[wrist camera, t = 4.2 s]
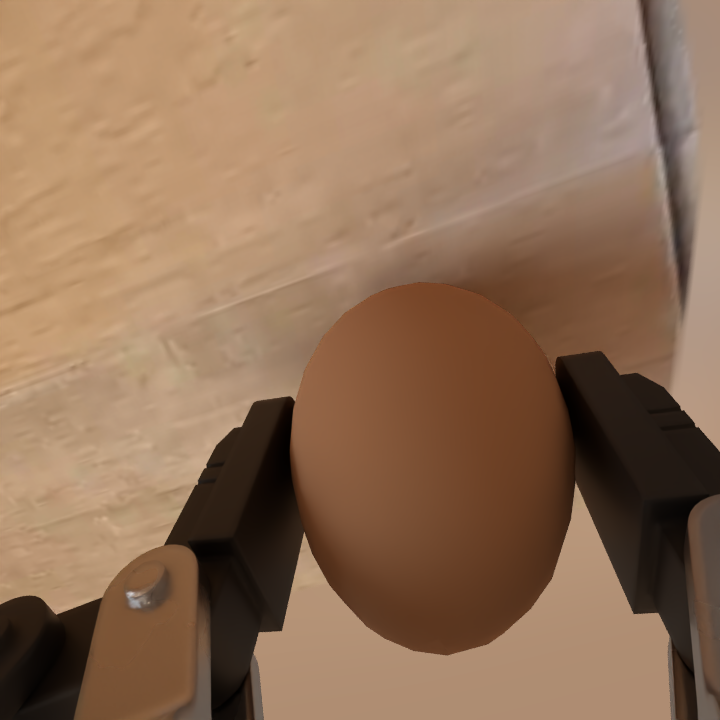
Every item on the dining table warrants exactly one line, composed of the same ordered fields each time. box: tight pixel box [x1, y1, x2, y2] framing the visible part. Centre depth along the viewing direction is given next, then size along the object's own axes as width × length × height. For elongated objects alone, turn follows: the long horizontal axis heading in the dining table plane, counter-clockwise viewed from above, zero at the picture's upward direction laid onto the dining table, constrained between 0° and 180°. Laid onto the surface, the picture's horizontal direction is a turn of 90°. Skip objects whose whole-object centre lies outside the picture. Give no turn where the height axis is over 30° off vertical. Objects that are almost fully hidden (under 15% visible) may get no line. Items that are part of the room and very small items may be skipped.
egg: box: [290, 282, 575, 655], centre depth 9 cm, size 5×5×8 cm
